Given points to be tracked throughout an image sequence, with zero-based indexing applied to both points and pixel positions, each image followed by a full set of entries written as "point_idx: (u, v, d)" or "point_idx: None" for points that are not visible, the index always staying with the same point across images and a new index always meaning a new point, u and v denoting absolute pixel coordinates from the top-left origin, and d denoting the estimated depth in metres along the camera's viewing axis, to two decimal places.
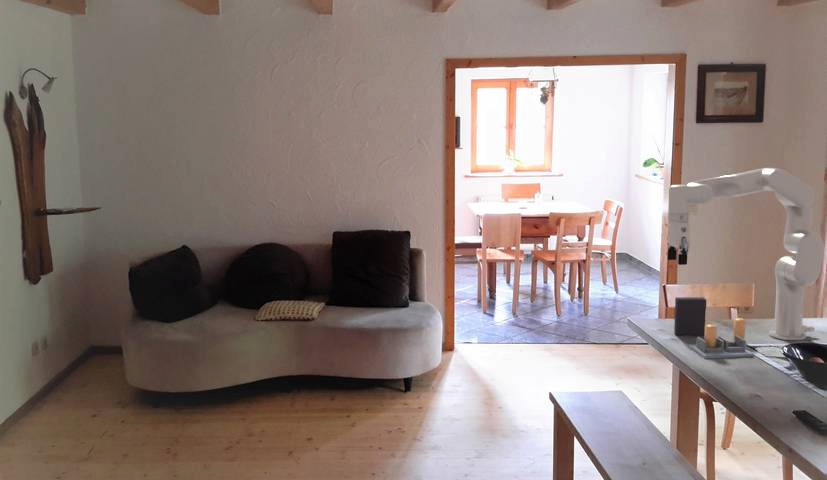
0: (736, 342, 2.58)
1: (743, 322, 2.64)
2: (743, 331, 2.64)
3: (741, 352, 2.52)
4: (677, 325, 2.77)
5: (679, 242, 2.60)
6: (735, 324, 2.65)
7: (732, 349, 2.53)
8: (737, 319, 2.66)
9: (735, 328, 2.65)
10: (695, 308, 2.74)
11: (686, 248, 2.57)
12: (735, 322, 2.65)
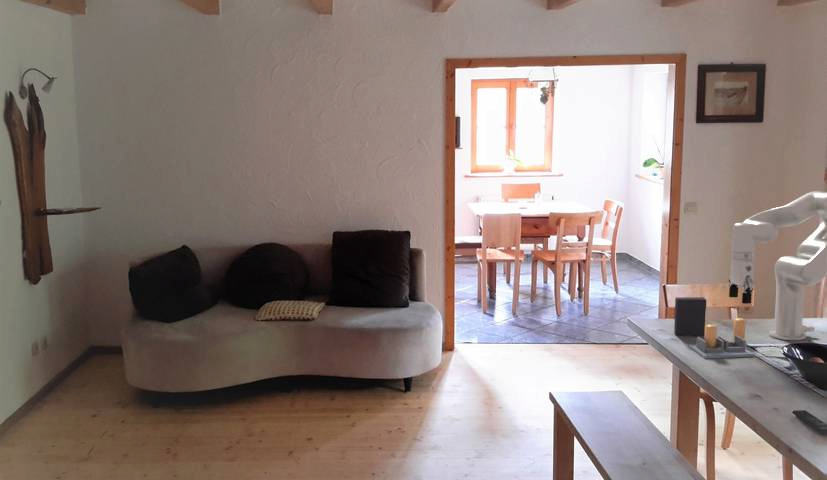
0: (736, 342, 2.58)
1: (743, 322, 2.64)
2: (743, 331, 2.64)
3: (741, 352, 2.52)
4: (677, 325, 2.77)
5: (744, 281, 2.58)
6: (735, 324, 2.65)
7: (732, 349, 2.53)
8: (737, 319, 2.66)
9: (735, 328, 2.65)
10: (695, 308, 2.74)
11: (751, 287, 2.55)
12: (735, 322, 2.65)
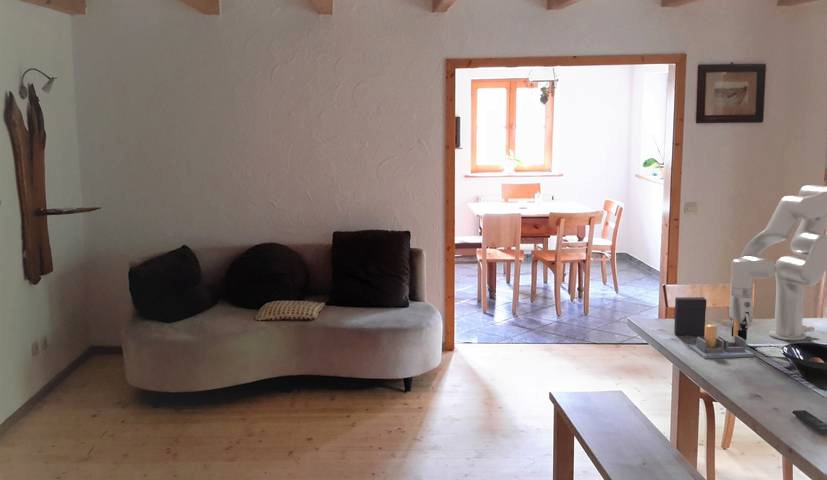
0: (736, 342, 2.58)
1: None
2: None
3: (741, 352, 2.52)
4: (677, 325, 2.77)
5: None
6: (735, 324, 2.65)
7: (732, 349, 2.53)
8: None
9: (735, 328, 2.65)
10: (695, 308, 2.74)
11: (747, 326, 2.60)
12: (735, 322, 2.65)
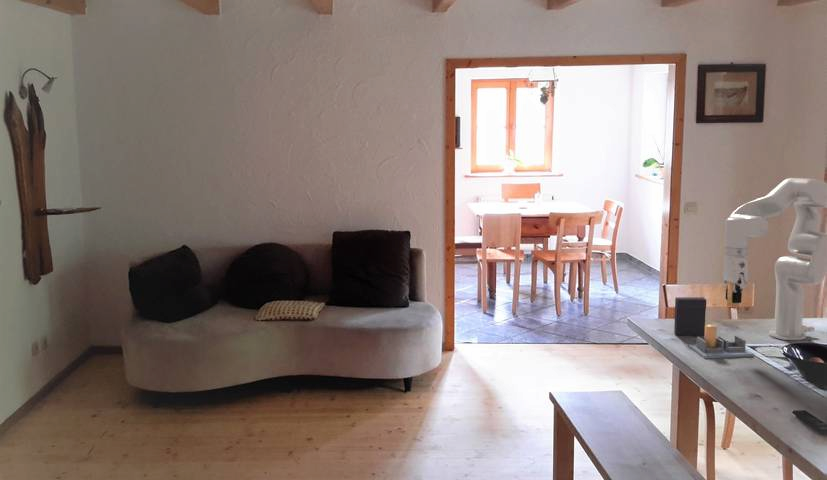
0: (736, 342, 2.58)
1: None
2: None
3: (741, 352, 2.52)
4: (677, 325, 2.77)
5: None
6: (729, 286, 2.52)
7: (732, 349, 2.53)
8: None
9: (729, 290, 2.53)
10: (695, 308, 2.74)
11: (741, 288, 2.47)
12: (729, 284, 2.52)
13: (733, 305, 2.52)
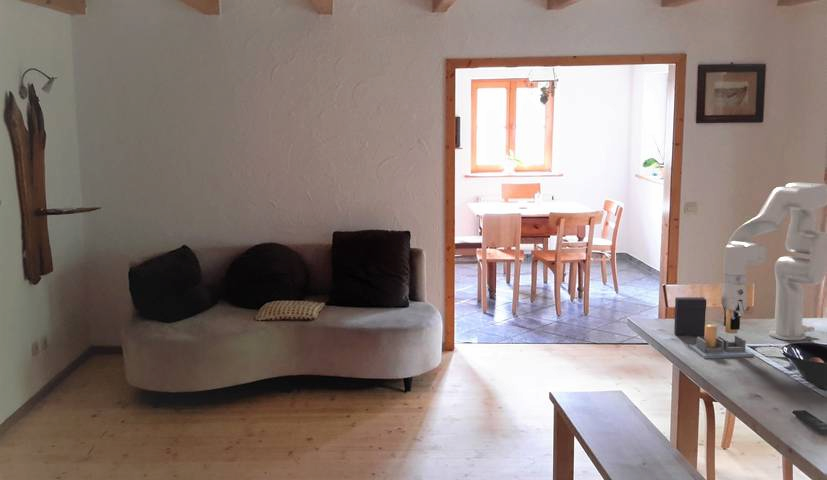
0: (736, 342, 2.58)
1: None
2: None
3: (741, 352, 2.52)
4: (677, 325, 2.77)
5: None
6: (727, 313, 2.54)
7: (732, 349, 2.53)
8: None
9: (727, 317, 2.54)
10: (695, 308, 2.74)
11: (740, 315, 2.49)
12: (727, 310, 2.54)
13: (731, 332, 2.54)
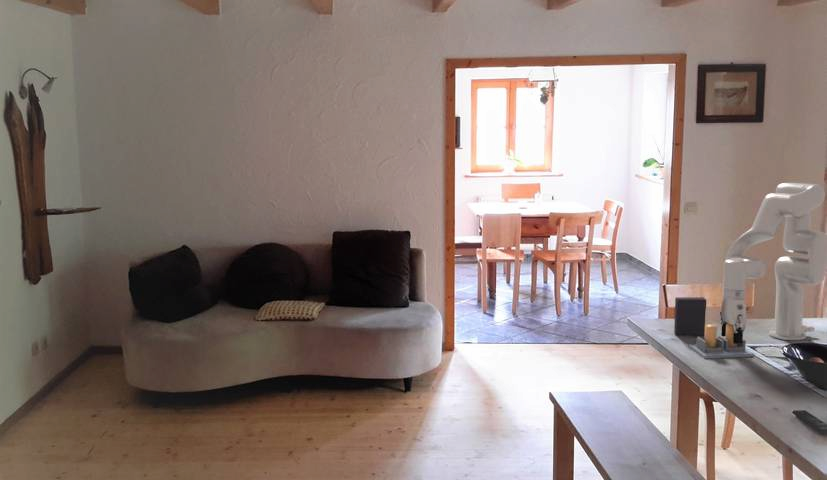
0: None
1: None
2: None
3: (741, 352, 2.52)
4: (677, 325, 2.77)
5: (735, 321, 2.50)
6: (727, 330, 2.55)
7: (732, 349, 2.53)
8: (729, 324, 2.56)
9: (727, 334, 2.55)
10: (695, 308, 2.74)
11: (742, 328, 2.48)
12: (727, 327, 2.55)
13: None
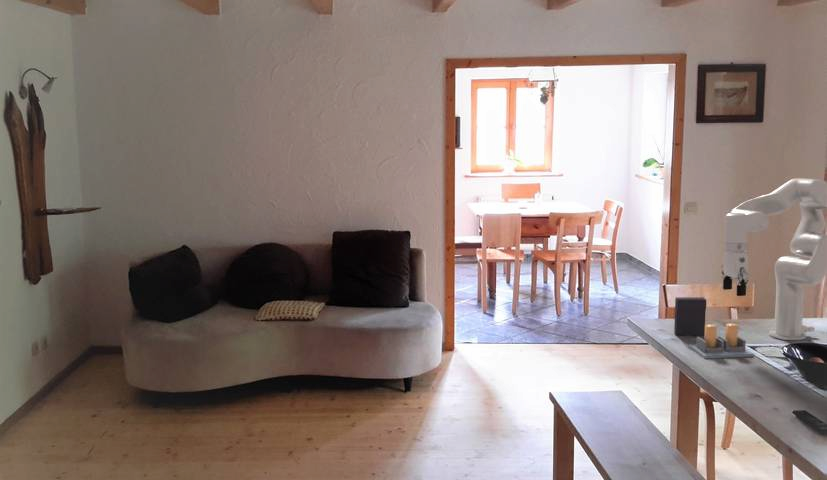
0: None
1: (735, 327, 2.54)
2: (735, 337, 2.54)
3: (741, 352, 2.52)
4: (677, 325, 2.77)
5: (737, 273, 2.51)
6: (727, 330, 2.55)
7: (732, 349, 2.53)
8: (729, 324, 2.56)
9: (727, 334, 2.55)
10: (695, 308, 2.74)
11: (746, 279, 2.48)
12: (727, 327, 2.55)
13: None
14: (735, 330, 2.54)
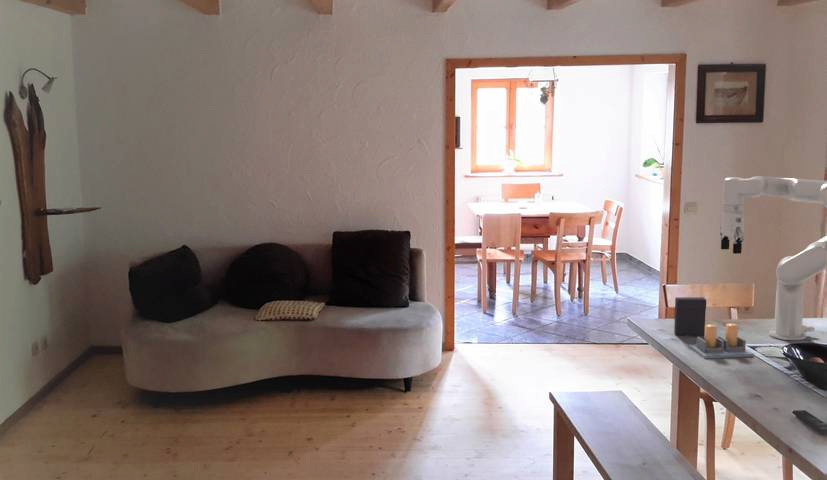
0: None
1: (735, 327, 2.54)
2: (735, 337, 2.54)
3: (741, 352, 2.52)
4: (677, 325, 2.77)
5: (734, 232, 2.73)
6: (727, 330, 2.55)
7: (732, 349, 2.53)
8: (729, 324, 2.56)
9: (727, 334, 2.55)
10: (695, 308, 2.74)
11: (741, 237, 2.70)
12: (727, 327, 2.55)
13: None
14: (735, 330, 2.54)
